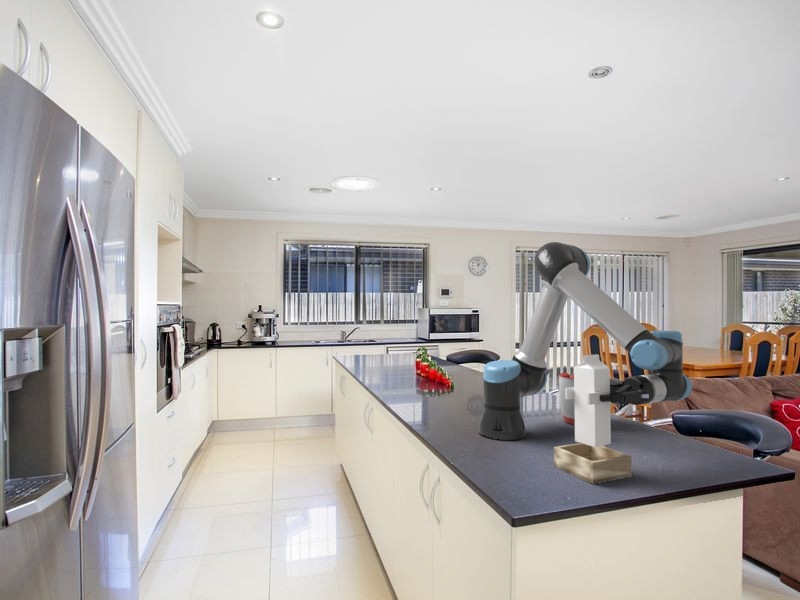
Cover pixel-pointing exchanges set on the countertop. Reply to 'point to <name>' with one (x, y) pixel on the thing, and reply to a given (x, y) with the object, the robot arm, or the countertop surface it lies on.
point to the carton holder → (592, 462)
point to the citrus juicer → (565, 404)
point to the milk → (595, 417)
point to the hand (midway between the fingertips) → (576, 396)
